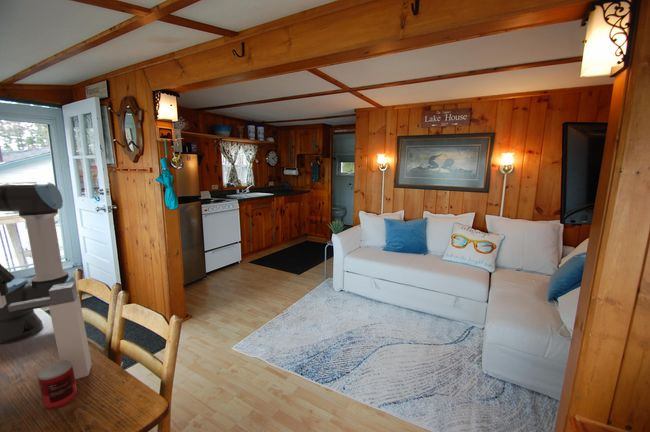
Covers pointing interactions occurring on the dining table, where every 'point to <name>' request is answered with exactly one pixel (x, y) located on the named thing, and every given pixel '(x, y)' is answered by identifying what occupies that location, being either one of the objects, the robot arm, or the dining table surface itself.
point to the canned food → (57, 384)
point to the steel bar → (57, 296)
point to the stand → (71, 336)
